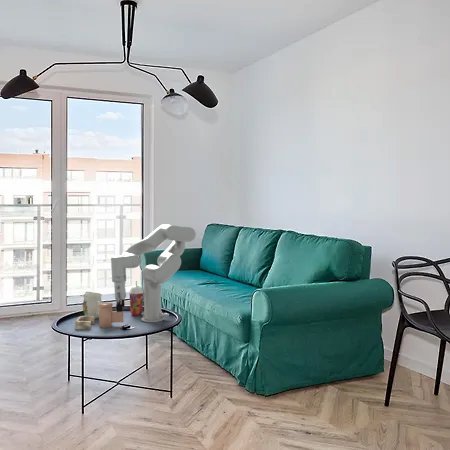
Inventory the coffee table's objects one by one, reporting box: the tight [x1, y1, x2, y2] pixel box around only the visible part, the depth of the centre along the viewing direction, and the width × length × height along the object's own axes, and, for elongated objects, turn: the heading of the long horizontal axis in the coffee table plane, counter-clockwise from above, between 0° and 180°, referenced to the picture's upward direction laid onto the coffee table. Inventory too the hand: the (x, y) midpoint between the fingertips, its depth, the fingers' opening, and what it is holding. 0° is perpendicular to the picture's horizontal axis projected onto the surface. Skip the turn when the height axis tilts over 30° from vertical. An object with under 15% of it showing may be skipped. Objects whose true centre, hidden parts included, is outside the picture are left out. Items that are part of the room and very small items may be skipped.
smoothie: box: [128, 280, 144, 317], centre depth 299 cm, size 8×8×20 cm
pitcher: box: [82, 291, 103, 320], centre depth 291 cm, size 11×18×14 cm, turn 39°
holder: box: [74, 315, 95, 330], centre depth 274 cm, size 8×11×4 cm
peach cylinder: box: [98, 302, 125, 329], centre depth 275 cm, size 13×8×12 cm, turn 95°
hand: (120, 309), depth 276 cm, fingers open, 9 cm apart
